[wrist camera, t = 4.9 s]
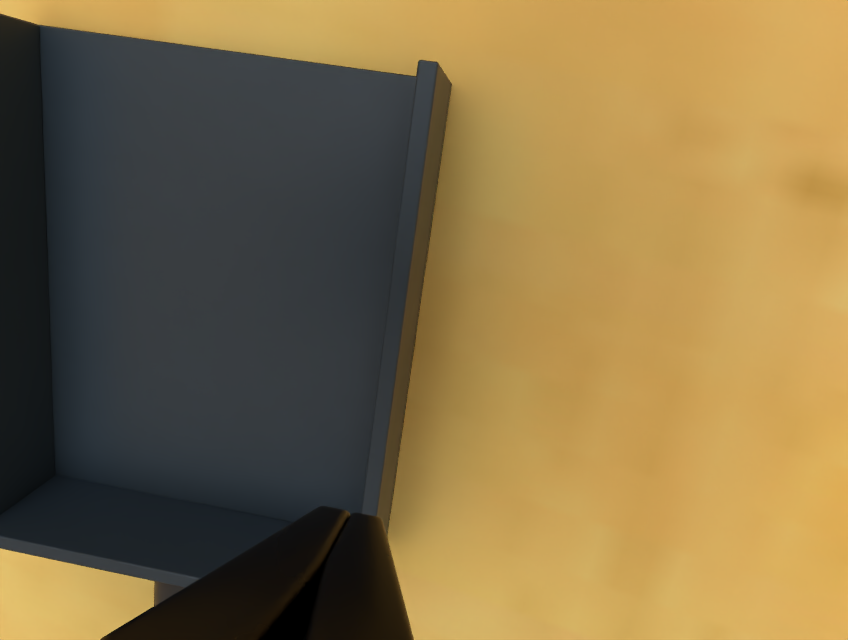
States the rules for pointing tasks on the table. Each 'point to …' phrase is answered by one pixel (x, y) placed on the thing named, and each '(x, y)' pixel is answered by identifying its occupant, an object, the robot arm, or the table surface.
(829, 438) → the table surface
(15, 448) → the dustpan
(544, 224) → the table surface
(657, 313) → the table surface
